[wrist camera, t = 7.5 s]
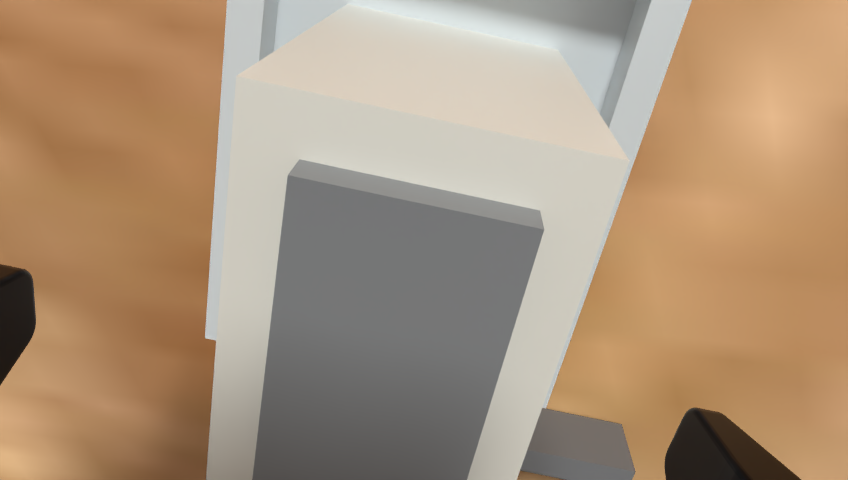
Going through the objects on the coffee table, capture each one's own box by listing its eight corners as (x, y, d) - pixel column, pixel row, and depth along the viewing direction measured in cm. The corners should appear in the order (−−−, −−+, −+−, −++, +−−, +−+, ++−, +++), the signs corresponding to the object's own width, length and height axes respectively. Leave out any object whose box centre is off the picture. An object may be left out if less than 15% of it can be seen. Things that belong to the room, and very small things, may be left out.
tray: (679, -38, 15) (703, -34, 14) (540, 369, 20) (546, 408, 19) (262, -131, 15) (236, -138, 13) (227, 304, 20) (204, 338, 18)
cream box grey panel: (557, 49, 16) (640, 176, 8) (487, 301, 19) (495, 573, 11) (347, 3, 15) (219, 87, 8) (310, 265, 18) (192, 512, 11)
